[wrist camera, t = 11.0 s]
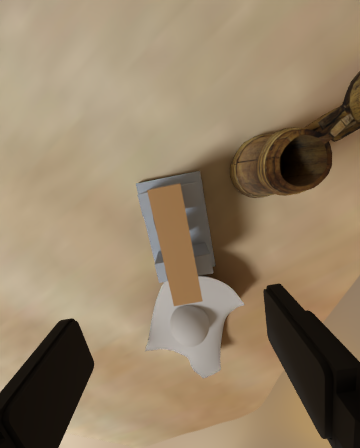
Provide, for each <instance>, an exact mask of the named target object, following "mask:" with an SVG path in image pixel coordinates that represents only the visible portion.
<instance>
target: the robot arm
mask: <svg viewBox="0 0 360 448" xmlns="http://www.w3.org/2000/svg"><path fill="white" fill-rule="evenodd" d="M264 302H265V313H266V324H267V334H268V338H269V341H270V343H271V345H272V347H273V349H274V351H275V353H276V354H277V356H278V358H279V360H280V362H281V364H282V366H283V368H284V369H285V371H286V373H287V375H288V377H289V379H290V381H291V382H292V384H293V386H294V388H295V390H296V392H297V394H298V395H299V397H300V399H301V401H302V403H303V405H304V407H305V409H306V410H307V412H308V414H309V416H310V418H311V420H312V422H313V423H314V425H315V427H316V429H317V431H318V433H319V434H320V436H321V437H322V438H323V439H328V441H329V443H330V445H331V446H332V448H360V362H359V361H358V360H357V359H356V358H355V357H354V356H353V355H352V354H351V352H349V350H348V349H347V348H346V347H345V346H344V345H343V344H342V343H341V342H340V341H339V340H338V339H337V338H336V337H335V336H334V335H333V334H332V333H331V332H330V330H329V329H328V328H327V327H326V326H325V325H324V324H323V323H322V322H321V321H320V320H319V319H318V318H317V317H316V316H315V315H314V314H313V313H312V312H311V311H308V310H307V311H305V310H304V309H303V308H302V307H301V306H300V305H299V304H298V302H297V301H296V300H295V299H294V298H293V297H292V296H291V295H290V294H289V293H288V292H287V290H286V289H285V288H284V287H283V286H282V285H281V284H274V285H268V286H267V289H264ZM93 368H94V361H93V358H92V356H91V353H90V351H89V348H88V346H87V343H86V341H85V338H84V336H83V333H82V331H81V328H80V326H79V323H78V322H77V321H75V320H74V319H66V320H61V321H59V322H58V323H57V324H56V326H55V327H54V328H53V329H52V330H51V332H50V333H49V334H48V335H47V336H46V338H45V339H44V340H43V341H42V343H41V344H40V345H39V346H38V347H37V349H36V350H35V351H34V352H33V353H32V355H31V356H30V357H29V358H28V360H27V361H26V362H25V363H24V364H23V366H22V367H21V368H20V369H19V370H18V372H17V373H16V374H15V375H14V377H13V378H12V379H11V380H10V381H9V383H8V384H7V385H6V386H5V387H4V389H3V390H2V391H1V392H0V448H58V447H59V445H60V443H61V441H62V438H63V436H64V434H65V432H66V429H67V427H68V425H69V423H70V420H71V418H72V416H73V414H74V411H75V409H76V407H77V405H78V402H79V400H80V398H81V396H82V393H83V391H84V389H85V387H86V385H87V382H88V380H89V378H90V376H91V373H92V371H93Z"/></svg>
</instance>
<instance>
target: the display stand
mask: <svg viewBox="0 0 360 448" xmlns="http://www.w3.org/2000/svg"><path fill="white" fill-rule="evenodd" d="M177 183H180V184H181V190H182V195H183V200H184V205H185V211H186V216H187V221H188V226H189V232H190V237H191V242H192V247H193V253H194V258H195V263H196V268H197V274H198V276H200V275H206V274H211V273H213V268H212V267H214V266H215V259H214V253H213V247H212V241H211V235H210V229H209V223H208V217H207V211H206V205H205V199H204V192H203V186H202V180H201V174H200V171H196V172H191V173H186V174H181V175H176V176H171V177H166V178H161V179H156V180H151V181H147V182H142V183H137V184H136V187H137V191H138V198H139V203H140V207H141V211H142V215H143V217H144V220H145V224H146V228H147V232H148V236H149V240H150V244H151V248H152V252H153V256H154V260H155V268H156V272H157V276H158V280H159V283H161V282H166V281H168V280H167V276H166V271H165V265H164V261H163V257H162V253H161V248H160V244H159V240H158V235H157V231H156V228H155V225H154V220H153V214H152V210H151V205H150V201H149V197H148V192H147V190H150V189H153V188H157V187H162V186H167V185H172V184H177Z"/></svg>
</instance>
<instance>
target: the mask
mask: <svg viewBox="0 0 360 448" xmlns="http://www.w3.org/2000/svg"><path fill="white" fill-rule="evenodd" d="M198 279H199V284H200V289H201V295H202V300H203V301H202V302H196V303H191V304H185V305H179V306H174V304H173V300H172V295H171V291H170V287H169V283H168V281H166V282H164V283H163V285H162V287H161V289H160V292H159V294H158V297H157V300H156V303H155V307H154V311H153V316H152V321H151V327H150V333H149V339H148V340H149V341H148V343H147V345H146V351H149V350H157V349H168V350H172V351H175V352H177V353H180V354H181V355H184V356H186V357H187V358H188V359H189V361H190V364H191V367H192V368H193V370H194V371H195V372H196V373H197V374H199V375H200V376H201V377H202V378H204V377H205V378H206V377H208V376H210V375H213V374H215V373H217V372H218V371H220V370H221V367H220V348H221V340H222V332H223V326H224V322H225V319H226V317H227V315H228V314H229V313H230V312H231V311H233V310H234V309H235V308H237V307H239V306H242V305H244V303H243V302H242V301H241V299H240V298H239V296H238V295H237V294H236V293H235V291H234V290H233V289H232V288H231V287H229V286H228V285H227V284H225V283H223V282H221V281H219V280H217V279H215V278H212V277H208V276H198Z"/></svg>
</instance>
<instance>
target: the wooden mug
mask: <svg viewBox="0 0 360 448" xmlns="http://www.w3.org/2000/svg"><path fill="white" fill-rule="evenodd" d="M359 128H360V72H359V73H358V74H357V75H356V76H355V78H354V79H353V80H352V81H351V83H350V85H349V87H348V90H347V92H346V95H345V99H344V102H343V104H342V105H341V106H340V107H339V108H336V109H334V110H332V111H330V112H328V113H327V114H325V115H323V116H321V117H320V118H318V119H317V120H315V121H314V122H312V123H311V124H309V125H308V126H306V127H305V128H287V129H283V130H281V131H279V132H276V133H274V134H273V135H270V134H265V135H259V136H256V137H254V138H252V139H250V140H248V141H246V142H244V143H243V145H242V146H241V147H240V148H239V150H238V151H237V153H236V154H235V157H234V159H233V161H232V164H231V167H230V177H231V179H232V182H233V184H234V185H235V187H236V188H237V190H239V191H240V192H241V193H242V194H244V195H246V196H248V197H253V198H259V197H266V196H269V195H273V194H277V195H284V196H285V195H292V194H298V193H301V192H304V191H306V190H309V189H311V188H314V187H315V186H317V185H318V184H319V183H321V182H322V181H323V180H324V179H325V177H326V176H327V175H328V174H329V171H330V169H331V166H332V151H331V146H330V143H329V141H330V140H332V141H334V142H335V141H338V140H340V139H342V138H344V137H345V136H347V135H349V134H351V133H352V132H354V131H356V130H358V129H359Z"/></svg>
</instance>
